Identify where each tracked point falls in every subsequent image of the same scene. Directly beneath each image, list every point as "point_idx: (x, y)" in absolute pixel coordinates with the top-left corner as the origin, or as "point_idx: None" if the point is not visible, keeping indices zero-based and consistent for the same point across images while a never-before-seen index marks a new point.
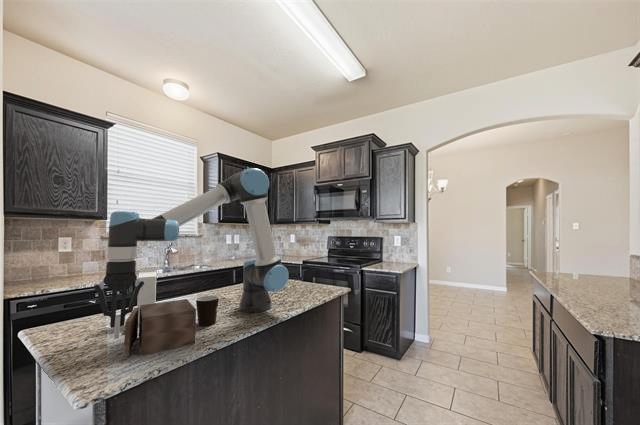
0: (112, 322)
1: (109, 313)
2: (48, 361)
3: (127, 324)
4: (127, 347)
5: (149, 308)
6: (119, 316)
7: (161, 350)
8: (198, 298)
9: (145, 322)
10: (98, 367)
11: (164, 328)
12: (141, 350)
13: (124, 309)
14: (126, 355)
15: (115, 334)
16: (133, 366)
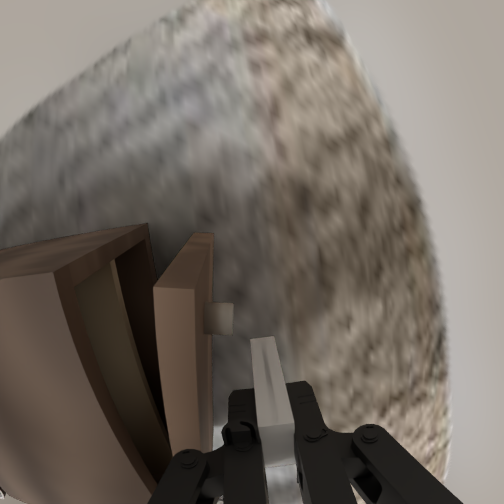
0: (304, 403)
1: (344, 449)
2: (441, 331)
3: (180, 278)
4: (196, 240)
5: (102, 485)
6: (266, 432)
7: (75, 235)
8: (2, 494)
9: (56, 263)
10: (301, 182)
11: (10, 258)
12: (138, 226)
13: (233, 475)
14: (203, 234)
15: (270, 350)
16: (166, 118)
